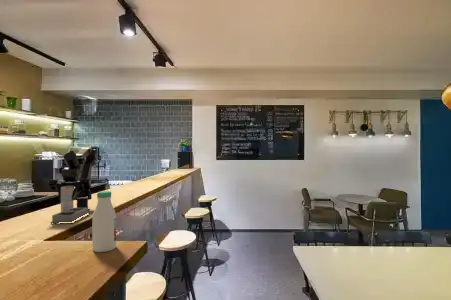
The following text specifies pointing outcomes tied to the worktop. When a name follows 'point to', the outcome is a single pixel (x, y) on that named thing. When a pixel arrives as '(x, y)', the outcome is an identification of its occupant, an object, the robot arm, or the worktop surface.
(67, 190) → the energy drink
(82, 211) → the drink carrier
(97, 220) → the milk bottle
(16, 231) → the worktop surface
